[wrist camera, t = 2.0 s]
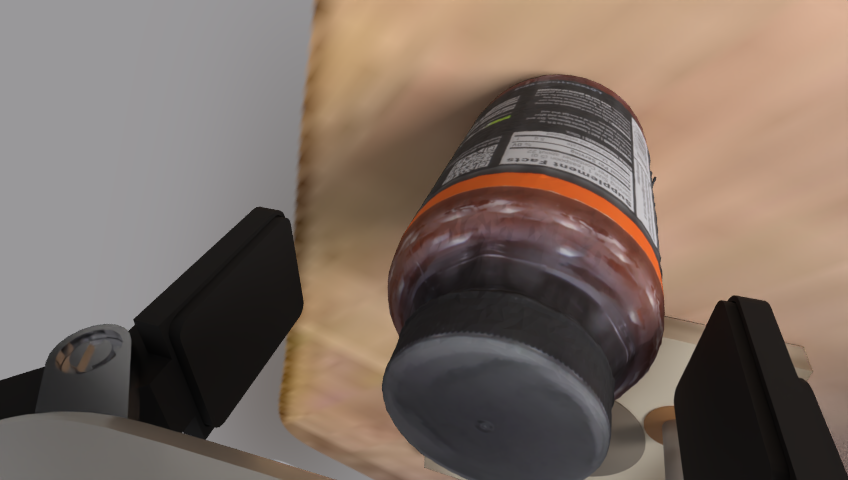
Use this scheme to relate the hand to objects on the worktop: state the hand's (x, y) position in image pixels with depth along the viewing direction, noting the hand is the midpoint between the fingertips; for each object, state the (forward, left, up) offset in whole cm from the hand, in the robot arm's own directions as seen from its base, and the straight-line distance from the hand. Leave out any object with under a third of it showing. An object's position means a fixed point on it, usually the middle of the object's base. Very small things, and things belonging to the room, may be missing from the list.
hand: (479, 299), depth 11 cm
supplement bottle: (-1, 0, -8) cm, 8 cm away
